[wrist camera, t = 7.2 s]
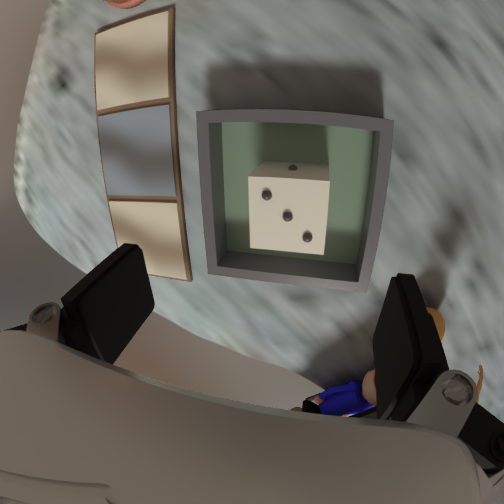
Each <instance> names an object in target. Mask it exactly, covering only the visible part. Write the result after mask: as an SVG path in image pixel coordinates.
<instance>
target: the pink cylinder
mask: <svg viewBox="0 0 504 504" xmlns="http://www.w3.org/2000/svg"><path fill="white" fill-rule="evenodd" d="M105 1H107V2H108V3H109V4H110V5H112V6H115V7H118V8H122V9H128V8H133V7H136V6H138V5H140V4H141V3H143V2H144V1H146V0H105Z"/></svg>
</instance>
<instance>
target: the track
mask: <svg viewBox="0 0 504 504" xmlns="http://www.w3.org/2000/svg"><path fill="white" fill-rule="evenodd" d="M94 68H95V99H96V114H97V126H98V137H99V146H100V154H101V162H102V169H103V176H104V182H105V188H106V194H107V200H108V205H109V211H110V216H111V221H112V225H113V230H114V235H115V239H116V244H117V248H119V247H120V246H121V245H122V244H124V243H131V244H137V245H139V247H140V248H141V249H142V250H143V254H144V259H145V264H146V268H147V273H148V275H152V276H158V277H164V278H170V279H176V280H182V281H189V282H191V281H192V280H193V278H192V271H191V264H190V256H189V248H188V240H187V232H186V223H185V214H184V205H183V195H182V184H181V173H180V160H179V146H178V131H177V112H176V87H175V8H173V7H172V8H168V9H164V10H161V11H157V12H153V13H150V14H147V15H143V16H140V17H137V18H134V19H131V20H128V21H125V22H122V23H120V24H117V25H114V26H112V27H109V28H106V29H104V30H101V31H99V32H97V33H95V52H94Z"/></svg>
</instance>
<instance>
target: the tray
mask: <svg viewBox="0 0 504 504" xmlns="http://www.w3.org/2000/svg"><path fill="white" fill-rule="evenodd" d="M196 117H197V139H198V157H199V173H200V188H201V201H202V214H203V225H204V237H205V247H206V257H207V267H208V274H213V275H220V276H228V277H235V278H243V279H251V280H259V281H267V282H275V283H283V284H292V285H300V286H309V287H318V288H327V289H337V290H346V291H356V292H366V293H367V290H368V286H369V282H370V277H371V273H372V269H373V264H374V260H375V255H376V250H377V245H378V240H379V235H380V229H381V224H382V218H383V212H384V206H385V199H386V192H387V185H388V178H389V169H390V160H391V150H392V139H393V126H394V121H393V120H389V119H385V118H379V117H372V116H364V115H356V114H348V113H338V112H327V111H314V110H296V109H220V110H206V111H196ZM264 161H272V162H293V163H310V164H323V165H329V174H330V188H329V202H328V215H327V226H326V237H325V247H324V255H320V254H309V253H299V252H288V251H277V250H267V249H256V248H250V225H249V190H248V176H249V175H250V174H251V173H252V172H253V171H254V170H255V169H256V168H257V167H258V166H260V165H261V164H262V163H263V162H264Z"/></svg>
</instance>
